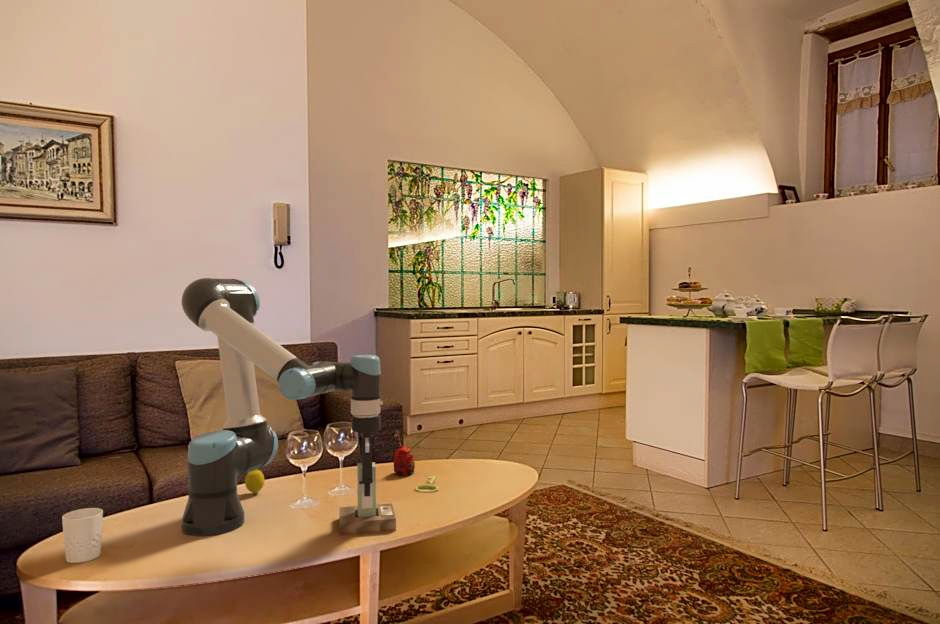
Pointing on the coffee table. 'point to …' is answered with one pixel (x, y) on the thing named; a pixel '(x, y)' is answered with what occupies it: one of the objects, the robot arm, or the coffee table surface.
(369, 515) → the sage peg
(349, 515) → the socket block
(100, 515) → the white cup
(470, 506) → the coffee table surface
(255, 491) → the fruit
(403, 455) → the red clay folk toy
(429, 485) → the key
